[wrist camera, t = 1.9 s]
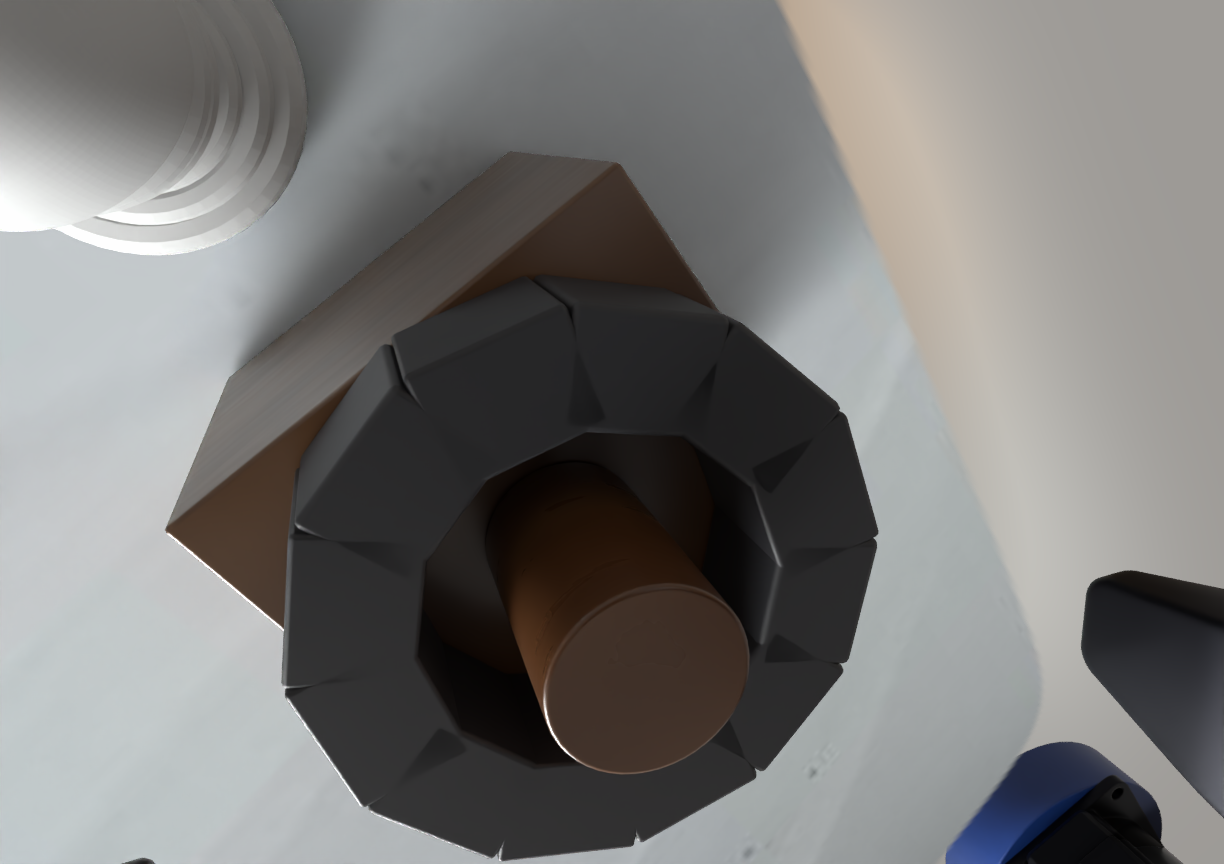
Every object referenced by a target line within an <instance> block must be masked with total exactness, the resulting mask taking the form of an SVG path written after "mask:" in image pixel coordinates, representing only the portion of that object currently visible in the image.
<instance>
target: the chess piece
mask: <svg viewBox="0 0 1224 864" xmlns="http://www.w3.org/2000/svg"><path fill="white" fill-rule="evenodd" d="M307 111H308V107H307V94H306V84H305V80H304V75H303V70H302V65H301V62H300V59H299V56H298V53H297V50H296V47H295V44H294V42H293V39H292V37H291V35H290V33H289V31H288V29H287V27H286V24H285V22H284V21H283V19H282V17H281V16H280V14H279V12H278V11H277V9H276V8H275V6H274V4H273V3H272V1H271V0H0V231H10V232H28V231H40V230H48V229H54V228H55V229H57V230H59V231H61V232H63V233H65V234H67V235H70V236H72V237H74V238H76V239H78V240H81V241H84V242H87V243H90V244H92V245H95V246H98V247H101V248H106V249H110V250H115V251H119V252H123V253H132V254H141V255H171V254H179V253H187V252H192V251H196V250H200V249H203V248H207V247H211V246H213V245H216V244H218V243H220V242H223V241H225V240H228V239H230V238H232V237H233V236H235V235H237V234H239V233H240V232H242V231H244V230H245V229H247V228H248V227H250V226H251V225H252V224H253V223H255V222H256V221H257V220H258V219H260V218H261V217H262V216H263V215H264V214H265V213H266V212H267V211H268V210H269V209H270V208H271V207H272V206H273V205H274V204H275V203H276V201H277V200H278V198H279V197H280V196H281V194H282V193H283V191H284V190H285V189H286V187H287V185H288V184H289V182H290V180H291V178H292V176H293V174H294V172H295V170H296V167H297V164H298V162H299V159H300V156H301V153H302V150H303V145H304V140H305V134H306V129H307Z"/></svg>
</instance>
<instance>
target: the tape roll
mask: <svg viewBox="0 0 1224 864" xmlns="http://www.w3.org/2000/svg"><path fill="white" fill-rule="evenodd" d="M391 340H392V345H393V346H391V345H388V344H384V345H382V346H380V347H379V349H378V350H377V351H376V353H375V354H374V356H373V357H372V358H371V360H370V361H369V362H368V364H367V365H366V367H365V368H364V369H363V371H362V372H361V374H360V375H359V376H358V378H357V379H356V381H355V382H354V383H353V385H352V386H351V388H350V389H349V390H348V392H347V393H346V395H345V396H344V397H343V399H342V400H341V402H340V403H339V404H338V406H337V407H336V409H335V410H334V411H333V413H332V414H331V416H330V417H329V418H328V420H327V421H326V423H325V424H324V425H323V427H322V428H321V430H320V431H319V432H318V434H317V435H316V436H315V438H314V439H313V441H312V442H311V443H310V445H309V446H308V448H307V449H306V450H305V452H304V453H303V455H302V456H301V461H300V468H297V469H296V471H295V476H294V486H293V495H292V504H291V514H290V523H289V532H288V547H287V569H286V592H285V615H284V637H283V660H282V685H283V687H284V688H286V689H285V698H286V699H287V701H288V702H289V704H290V705H291V707H292V708H293V709H294V711H295V712H296V714H297V715H298V717H299V718H300V720H301V721H302V722H303V724H304V725H305V727H306V728H307V730H308V731H309V733H310V734H311V735H312V737H313V738H314V740H315V741H316V743H317V744H318V746H319V747H320V748H321V750H322V751H323V753H324V754H325V756H326V757H327V759H328V760H329V761H330V763H331V764H332V766H333V767H334V769H335V770H336V772H337V773H338V775H339V776H340V777H341V779H342V780H343V782H344V783H345V785H346V786H347V788H348V789H349V790H350V792H351V793H352V795H353V796H354V798H355V799H356V801H357V802H358V803H359V805H360V806H361V807H366V806H368V808H369V811H370V812H371V813H372V814H374V815H377V816H380V817H382V818H385V819H387V820H390V821H393V822H395V823H398V824H400V825H403V826H406V827H408V828H411V829H413V830H416V831H418V832H421V833H424V834H426V835H429V836H431V837H434V838H437V839H439V840H442V841H444V842H447V843H450V844H452V845H455V846H457V847H460V848H463V849H465V850H468V851H470V852H473V853H476V854H478V855H481V856H483V857H486V858H493V857H494V856H495V855H496V854H497V856H498V859H499V860H500V861H508V860H517V859H526V858H535V857H543V856H552V855H561V854H570V853H579V852H588V851H597V850H606V849H615V848H623V847H631V846H633V845H634V840H635V837H636V839H637V840H638V841H640V842H644V841H646V840H647V839H649V838H651V837H653V836H654V835H656V834H658V833H660V832H662V831H663V830H665V829H667V828H669V827H670V826H672V825H674V824H676V823H678V822H679V821H681V820H683V819H685V818H686V817H688V816H690V815H692V814H694V813H695V812H697V811H699V810H701V809H702V808H704V807H706V806H708V805H710V804H711V803H713V802H715V801H717V800H718V799H720V798H722V797H724V796H726V795H727V794H729V793H731V792H733V791H735V790H736V789H738V788H740V787H742V786H743V785H745V784H747V783H749V782H751V781H752V780H754V779H755V778H756V771H755V768H756V769H757V770H759V771H764V770H765V769H766V768H767V767H768V766H769V765H770V763H771V762H772V761H773V760H774V758H775V757H776V756H777V755H778V753H779V752H780V751H781V750H782V748H783V747H784V746H785V745H786V743H787V742H788V741H789V740H790V738H791V737H792V736H793V735H794V733H795V732H796V731H797V730H798V728H799V727H800V726H801V725H802V723H803V722H804V721H805V720H806V718H807V717H808V716H809V715H810V713H811V712H812V711H813V710H814V708H815V707H816V706H817V705H818V703H819V702H820V701H821V700H822V698H823V697H824V696H825V695H826V693H827V692H828V691H829V690H830V688H831V687H832V686H833V685H834V683H835V682H836V681H837V680H838V678H839V677H840V676H841V675H842V673H843V668H842V666H841V665H840V664H839V663H844V662H847V660H848V659H849V656H850V652H851V648H852V644H853V640H854V636H855V632H856V628H857V624H858V620H859V616H860V612H861V608H862V604H863V600H864V596H865V593H866V589H867V585H868V581H869V577H870V573H871V569H872V565H873V561H874V557H875V553H876V549H877V542H876V540H875V539H874V538H873V537H875V536H876V535H877V534H878V528H877V524H876V521H875V517H874V513H873V510H872V506H871V503H870V499H869V495H868V492H867V488H866V485H865V481H864V477H863V474H862V470H861V467H860V463H859V459H858V456H857V452H856V449H855V445H854V441H853V438H852V434H851V431H850V427H849V423H848V420H847V417H846V415H845V414H844V413H842V412H840V411H839V409H840V407H839V406H838V404H837V402H836V401H835V400H833V399H832V398H831V397H830V396H829V395H827V394H826V393H825V392H824V391H823V390H821V389H820V388H819V387H818V386H817V385H815V384H814V383H813V382H812V381H811V380H809V379H808V378H807V377H806V376H805V375H803V374H802V373H801V372H800V371H799V370H797V369H796V368H795V367H794V366H793V365H791V364H790V363H789V362H788V361H787V360H785V359H784V358H783V357H782V356H781V355H779V354H778V353H777V352H776V351H775V350H773V349H772V348H771V347H770V346H769V345H768V344H766V343H765V342H764V341H763V340H762V339H760V338H759V337H758V336H757V335H756V334H754V333H753V332H752V331H751V330H750V329H748V328H747V327H746V326H745V325H744V324H742V323H741V322H738V321H736V320H734V319H732V318H730V317H728V316H726V315H723V314H721V313H719V312H717V311H715V310H713V309H710V308H708V307H706V306H704V305H702V304H700V303H698V302H695V301H693V300H691V299H689V298H687V297H685V296H682V295H680V294H676V293H674V292H671V291H669V290H667V289H665V288H659V287H650V286H641V285H632V284H623V283H614V282H605V281H596V280H587V279H578V278H569V277H560V276H551V275H538V276H535V278H534V280H533V281H532V280H530V279H529V278H528V277H526V276H525V277H520V278H518V279H515V280H513V281H511V282H509V283H506V284H504V285H502V286H500V287H498V288H495V289H493V290H491V291H489V292H486V293H484V294H482V295H480V296H478V297H475V298H473V299H471V300H469V301H466V302H464V303H462V304H460V305H458V306H455V307H453V308H451V309H449V310H446V311H444V312H442V313H440V314H437V315H435V316H433V317H431V318H429V319H426V320H424V321H422V322H420V323H417V324H415V325H413V326H411V327H409V328H406V329H404V330H402V331H400V332H397V333H395V334H394V335H393V336H392V337H391ZM585 432H596V433H615V434H635V435H654V436H673V437H681V438H682V439H684V440H685V441H687V442H688V443H689V444H691V445H692V446H694V448H695V451H696V454H697V456H698V459H699V462H700V465H701V467H702V470H703V473H704V476H705V478H706V481H707V484H708V486H709V489H710V492H711V495H712V497H713V500H714V503H715V508H714V513H713V518H712V523H711V529H710V534H709V539H708V544H707V549H706V554H705V560H704V565H703V570H702V574H703V575H704V576H705V577H706V579H707V580H708V581H709V582H710V583H711V585H712V586H713V587H714V588H715V589H716V590H717V592H718V593H719V594H720V595H721V596H722V598H723V599H724V600H725V601H726V602H727V604H728V605H729V606H730V607H731V608H732V610H733V611H734V612H735V614H736V615H737V617H738V618H739V619H740V621H741V624H742V626H743V628H744V630H745V633H746V637H747V640H748V647H749V672H748V679H747V682H746V686H745V689H744V692H743V694H742V697H741V699H740V701H739V703H738V705H737V707H736V709H735V711H734V712H733V714H732V715H731V717H730V718H729V720H728V721H727V722H726V724H725V725H724V726H723V727H722V728H721V730H720V731H719V732H718V733H717V734H716V735H715V736H714V737H713V738H712V739H711V740H710V741H708V742H707V743H706V744H705V745H704V746H702V747H701V748H700V749H698V750H697V751H696V752H694V753H692V754H691V755H689V756H688V757H686V758H684V759H682V760H680V761H678V762H676V763H674V764H672V765H669V766H666V767H664V768H661V769H657V770H653V771H649V772H644V773H637V774H614V773H607V772H602V771H598V770H595V769H593V768H590V767H587V766H585V765H583V764H582V763H580V762H578V761H576V760H575V759H573V758H572V757H571V756H570V755H568V754H567V753H566V752H565V751H564V750H563V749H562V748H561V747H560V746H559V745H558V744H557V743H556V741H555V739H554V738H553V736H552V735H551V733H550V731H549V729H548V726H547V724H546V721H545V719H544V716H543V713H542V710H541V708H540V705H539V702H538V699H537V697H536V694H535V691H534V688H533V686H532V683H531V680H530V677H529V675H528V673H520V674H505V673H503V672H501V671H499V670H497V669H495V668H493V667H491V666H489V665H487V664H485V663H483V662H481V661H479V660H477V659H475V658H473V657H471V656H469V655H467V654H465V653H463V652H461V651H459V650H457V649H455V648H453V647H451V646H449V645H447V644H445V643H443V642H442V640H441V639H440V637H439V635H438V633H437V632H436V630H435V628H434V626H433V625H432V623H431V621H430V619H429V617H428V616H427V614H426V612H425V610H424V609H423V600H424V590H425V579H426V568H427V561H428V559H429V558H430V557H431V555H432V554H433V553H434V551H435V550H436V548H437V547H438V546H439V544H440V543H441V542H442V540H443V539H444V538H445V536H446V535H447V534H448V532H449V531H450V530H451V528H452V527H453V526H454V524H455V523H456V521H457V520H458V519H459V517H460V516H461V515H462V513H463V512H464V511H465V509H466V508H467V507H468V505H469V504H470V503H471V501H472V500H473V499H474V497H475V496H476V494H477V493H478V492H479V490H480V489H481V488H482V486H483V485H484V484H485V482H486V481H487V480H488V479H490V478H492V477H494V476H496V475H498V474H500V473H502V472H504V471H506V470H508V469H510V468H513V467H515V466H517V465H519V464H521V463H523V462H525V461H527V460H529V459H531V458H533V457H535V456H537V455H539V454H542V453H544V452H546V451H548V450H550V449H552V448H554V447H556V446H558V445H560V444H562V443H564V442H566V441H568V440H571V439H573V438H575V437H577V436H579V435H581V434H583V433H585Z"/></svg>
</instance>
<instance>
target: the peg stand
mask: <svg viewBox="0 0 1224 864" xmlns="http://www.w3.org/2000/svg"><path fill="white" fill-rule="evenodd" d="M538 275H551V276H560V277H569V278H578V279H587V280H596V281H605V282H614V283H623V284H632V285H641V286H650V287H659V288H665V289H667V290H669V291H671V292H674V293H676V294H680V295H682V296H685V297H687V298H689V299H691V300H693V301H695V302H698V303H700V304H702V305H704V306H706V307H708V308H710V309H713V310H715V311H717V312H719V311H718V309H717V308H716V306H715V305H714V303H713V302H712V300H711V299H710V297H709V296H708V294H707V293H706V291H705V290H704V288H703V287H702V285H701V284H700V282H699V281H698V279H697V278H696V276H695V275H694V273H693V272H692V270H691V269H690V267H689V266H688V264H687V263H686V261H685V260H684V258H683V257H682V255H681V254H680V252H679V251H678V249H677V248H676V246H675V245H674V243H673V242H672V240H671V239H670V237H669V236H668V234H667V233H666V231H665V230H664V228H663V227H662V225H661V224H660V222H659V221H658V220H657V218H656V217H655V215H654V214H653V212H652V211H651V209H650V208H649V206H648V205H647V203H646V202H645V200H644V199H643V197H642V196H641V194H640V193H639V191H638V190H637V188H636V187H635V185H634V184H633V182H632V181H631V179H630V178H629V176H628V175H627V173H626V172H625V170H624V169H623V167H622V166H621V165H620V164H619V163H617V162H609V161H600V160H590V159H581V158H571V157H561V156H552V155H542V154H532V153H523V152H513V151H510V152H508V153H506V154H505V155H504V156H503V157H501V158H500V159H499V160H498V161H497V162H495V163H494V164H493V165H492V166H490V167H489V168H488V169H487V170H485V171H484V172H483V173H482V174H480V175H479V176H478V177H477V178H475V179H474V180H473V181H472V182H471V183H469V184H468V185H467V186H466V187H464V188H463V189H462V190H461V191H459V192H458V193H457V194H456V195H454V196H453V197H452V198H451V199H450V200H448V201H447V202H446V203H445V204H443V205H442V206H441V207H440V208H438V209H437V210H436V211H435V212H433V213H432V214H431V215H430V216H429V217H427V218H426V219H425V220H424V221H422V222H421V223H420V224H419V225H417V226H416V227H415V228H414V229H412V230H411V231H410V232H409V233H407V234H406V235H405V236H404V237H403V238H401V239H400V240H399V241H398V242H396V243H395V244H394V245H393V246H391V247H390V248H389V249H388V250H386V251H385V252H384V253H383V254H382V255H380V256H379V257H378V258H377V259H375V260H374V261H373V262H372V263H370V264H369V265H368V266H367V267H365V268H364V269H363V270H362V271H360V272H359V273H358V274H357V275H356V276H354V277H353V278H352V279H351V280H349V281H348V282H347V283H346V284H344V285H343V286H342V287H341V288H339V289H338V290H337V291H336V292H335V293H333V294H332V295H331V296H330V297H328V298H327V299H326V300H325V301H323V302H322V303H321V304H320V305H318V306H317V307H316V308H315V309H314V310H312V311H311V312H310V313H309V314H307V315H306V316H305V317H304V318H302V319H301V320H300V321H299V322H297V323H296V324H295V325H294V326H292V327H291V328H290V329H289V330H288V331H286V332H285V333H284V334H283V335H281V336H280V337H279V338H278V339H276V340H275V341H274V342H273V343H271V344H270V345H269V346H268V347H267V348H265V349H264V350H263V351H262V352H260V353H259V354H258V355H257V356H255V357H254V358H253V359H252V360H250V361H249V362H248V363H247V364H246V365H244V366H243V367H242V368H241V369H239V370H238V371H237V372H236V373H234V374H233V375H232V376H231V377H229V379H228V381H227V383H226V385H225V388H224V390H223V393H222V395H221V397H220V400H219V402H218V405H217V407H216V409H215V412H214V414H213V417H212V419H211V421H210V424H209V426H208V428H207V431H206V433H205V436H204V438H203V440H202V443H201V445H200V448H199V450H198V452H197V455H196V457H195V460H194V462H193V464H192V467H191V469H190V472H189V474H188V476H187V479H186V481H185V483H184V486H183V488H182V491H181V493H180V495H179V498H178V500H177V503H176V505H175V507H174V510H173V512H172V515H171V517H170V519H169V522H168V524H167V527H166V529H165V531H166V533H167V534H168V535H169V536H170V537H171V538H173V539H174V540H175V541H176V542H177V543H179V544H180V545H181V546H182V547H183V548H185V549H186V550H187V551H188V552H189V553H191V554H192V555H193V556H194V557H195V558H197V559H198V560H199V561H200V562H201V563H203V564H204V565H205V566H206V567H207V568H209V569H210V570H211V571H212V572H213V573H215V574H216V575H217V576H218V577H219V578H221V579H222V580H223V581H224V582H225V583H227V584H228V585H229V586H230V587H231V588H233V589H234V590H235V591H236V592H237V593H238V594H240V595H241V596H242V597H243V598H244V599H246V600H247V601H248V602H249V603H250V604H252V605H253V606H254V607H255V608H256V609H258V610H259V611H260V612H261V613H262V614H264V615H265V616H266V617H267V618H268V619H270V620H271V621H272V622H273V623H274V624H276V625H277V626H278V627H279V628H280V629H282V630H283V631H284V615H285V592H286V569H287V547H288V532H289V523H290V514H291V504H292V495H293V486H294V476H295V471H296V469H297V468H300V461H301V456H302V455H303V453H304V452H305V450H306V449H307V448H308V446H309V445H310V443H311V442H312V441H313V439H314V438H315V436H316V435H317V434H318V432H319V431H320V430H321V428H322V427H323V425H324V424H325V423H326V421H327V420H328V418H329V417H330V416H331V414H332V413H333V411H334V410H335V409H336V407H337V406H338V404H339V403H340V402H341V400H342V399H343V397H344V396H345V395H346V393H347V392H348V390H349V389H350V388H351V386H352V385H353V383H354V382H355V381H356V379H357V378H358V376H359V375H360V374H361V372H362V371H363V369H364V368H365V367H366V365H367V364H368V362H369V361H370V360H371V358H372V357H373V356H374V354H375V353H376V351H377V350H378V349H379V347H380V346H382V345H384V344H388V345H391V346H393V345H392V340H391V337H392V336H393V335H394V334H395V333H397V332H400V331H402V330H404V329H406V328H409V327H411V326H413V325H415V324H417V323H420V322H422V321H424V320H426V319H429V318H431V317H433V316H435V315H437V314H440V313H442V312H444V311H446V310H449V309H451V308H453V307H455V306H458V305H460V304H462V303H464V302H466V301H469V300H471V299H473V298H475V297H478V296H480V295H482V294H484V293H486V292H489V291H491V290H493V289H495V288H498V287H500V286H502V285H504V284H506V283H509V282H511V281H513V280H515V279H518V278H520V277H525V276H526V277H528V278H529V279H530V280H532V281H533V280H534V278H535V276H538ZM719 313H720V312H719ZM714 508H715V503H714V500H713V497H712V495H711V492H710V489H709V486H708V484H707V481H706V478H705V476H704V473H703V470H702V467H701V465H700V462H699V459H698V456H697V454H696V451H695V448H694V446H692V445H691V444H689V443H688V442H687V441H685V440H684V439H682V438H681V437H673V436H654V435H635V434H615V433H596V432H585V433H583V434H581V435H579V436H577V437H575V438H573V439H571V440H568V441H566V442H564V443H562V444H560V445H558V446H556V447H554V448H552V449H550V450H548V451H546V452H544V453H542V454H539V455H537V456H535V457H533V458H531V459H529V460H527V461H525V462H523V463H521V464H519V465H517V466H515V467H513V468H510V469H508V470H506V471H504V472H502V473H500V474H498V475H496V476H494V477H492V478H490V479H488V480H487V481H486V482H485V484H484V485H483V486H482V488H481V489H480V490H479V492H478V493H477V494H476V496H475V497H474V499H473V500H472V501H471V503H470V504H469V505H468V507H467V508H466V509H465V511H464V512H463V513H462V515H461V516H460V517H459V519H458V520H457V521H456V523H455V524H454V526H453V527H452V528H451V530H450V531H449V532H448V534H447V535H446V536H445V538H444V539H443V540H442V542H441V543H440V544H439V546H438V547H437V548H436V550H435V551H434V553H433V554H432V555H431V557H430V558H429V559H428V561H427V568H426V579H425V590H424V600H423V609H424V610H425V612H426V614H427V616H428V617H429V619H430V621H431V623H432V625H433V626H434V628H435V630H436V632H437V633H438V635H439V637H440V639H441V640H442V642H443V643H445V644H447V645H449V646H451V647H453V648H455V649H457V650H459V651H461V652H463V653H465V654H467V655H469V656H471V657H473V658H475V659H477V660H479V661H481V662H483V663H485V664H487V665H489V666H491V667H493V668H495V669H497V670H499V671H501V672H503V673H505V674H520V673H528V675H529V677H530V680H531V683H532V686H533V688H534V691H535V694H536V697H537V699H538V702H539V705H540V708H541V710H542V713H543V716H544V719H545V721H546V724H547V726H548V729H549V731H550V733H551V735H552V736H553V738H554V739H555V741H556V743H557V744H558V745H559V746H560V747H561V748H562V749H563V750H564V751H565V752H566V753H567V754H568V755H570V756H571V757H572V758H573V759H575V760H576V761H578V762H580V763H582V764H583V765H585V766H587V767H590V768H593V769H595V770H598V771H602V772H607V773H614V774H637V773H644V772H649V771H653V770H657V769H661V768H664V767H666V766H669V765H672V764H674V763H676V762H678V761H680V760H682V759H684V758H686V757H688V756H689V755H691V754H692V753H694V752H696V751H697V750H698V749H700V748H701V747H702V746H704V745H705V744H706V743H707V742H708V741H710V740H711V739H712V738H713V737H714V736H715V735H716V734H717V733H718V732H719V731H720V730H721V728H722V727H723V726H724V725H725V724H726V722H727V721H728V720H729V718H730V717H731V715H732V714H733V712H734V711H735V709H736V707H737V705H738V703H739V701H740V699H741V697H742V694H743V692H744V689H745V686H746V682H747V679H748V672H749V647H748V640H747V637H746V633H745V630H744V628H743V626H742V624H741V621H740V619H739V618H738V617H737V615H736V614H735V612H734V611H733V610H732V608H731V607H730V606H729V605H728V604H727V602H726V601H725V600H724V599H723V598H722V596H721V595H720V594H719V593H718V592H717V590H716V589H715V588H714V587H713V586H712V585H711V583H710V582H709V581H708V580H707V579H706V577H705V576H704V575H703V574H702V570H703V565H704V560H705V554H706V549H707V544H708V539H709V534H710V529H711V523H712V518H713V513H714Z"/></svg>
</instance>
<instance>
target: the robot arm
mask: <svg viewBox="0 0 1224 864" xmlns="http://www.w3.org/2000/svg"><path fill="white" fill-rule="evenodd" d="M1081 650H1082V655H1083V658H1084V660H1085V663H1086V664H1087V666H1088V668H1089V669H1090V671H1091V672H1092V673H1093V674H1094V676H1095V677H1096V678H1097V679H1098V680H1099V681H1100V682H1101V684H1102V685H1103V686H1104V687H1105V688H1106V689H1107V690H1108V692H1109V693H1110V694H1111V695H1112V696H1113V697H1114V698H1115V700H1116V701H1117V702H1118V703H1119V704H1120V705H1121V706H1122V707H1123V709H1124V710H1125V711H1126V712H1127V713H1128V714H1129V716H1130V717H1131V718H1132V719H1133V720H1134V721H1135V722H1136V723H1137V725H1138V726H1139V727H1140V728H1141V729H1142V730H1143V731H1144V733H1145V734H1146V735H1147V736H1148V737H1149V738H1150V739H1151V741H1152V742H1153V743H1154V744H1155V745H1156V746H1157V747H1158V748H1159V750H1160V751H1161V752H1162V753H1163V754H1164V755H1165V756H1166V758H1167V759H1168V760H1169V761H1170V762H1171V763H1172V764H1173V766H1174V767H1175V768H1176V769H1177V770H1178V771H1179V772H1180V773H1181V774H1182V776H1183V777H1184V778H1185V779H1186V780H1187V781H1188V782H1189V783H1190V784H1191V785H1192V786H1193V788H1194V789H1195V790H1196V791H1197V792H1198V793H1199V794H1200V795H1201V796H1202V797H1203V798H1204V799H1205V800H1206V801H1207V802H1208V803H1209V804H1210V805H1211V806H1212V807H1213V808H1214V809H1215V810H1216V811H1217V812H1218V813H1219V814H1220V815H1221V816H1222V817H1223V818H1224V589H1221V588H1216V587H1211V586H1206V585H1202V584H1197V583H1192V582H1187V581H1182V580H1177V579H1173V578H1168V577H1163V576H1158V575H1153V574H1148V573H1143V572H1138V571H1131V570H1130V571H1122V572H1118V573H1114V574H1111V575H1108V576H1104V577H1101V578H1098V579H1096V580H1094V581H1093V582H1092V583H1091V584H1090V586H1089V588H1088V590H1087V593H1086V602H1085V612H1084V621H1083V630H1082V640H1081ZM122 864H155V863H154V862H153V861H152V860H150V859H147V858H140V859H136V860H133V861H129V862H126V863H122ZM1005 864H1183V863H1182V862H1181V861H1179V860H1178V859H1177V858H1176V857H1175V856H1174V855H1173V854H1171V853H1170V852H1169V851H1168V850H1167V849H1166V848H1165V847H1164V846H1163V844H1162V842H1161V841H1160V839H1159V837H1158V835H1157V834H1156V832H1155V830H1154V829H1153V827H1152V825H1151V824H1150V822H1149V820H1148V818H1147V817H1146V815H1145V813H1144V812H1143V810H1142V808H1141V806H1140V805H1139V803H1138V801H1137V800H1136V798H1135V796H1134V794H1133V793H1132V791H1131V789H1130V788H1129V786H1128V784H1126V783H1125V782H1124V781H1123V780H1122V779H1120V778H1119V777H1118V776H1117V775H1110V776H1107V777H1106V778H1104V779H1103V780H1102V781H1101V782H1100V783H1098V784H1097V785H1096V786H1095V787H1094V788H1093V789H1092V790H1090V791H1089V792H1088V793H1087V794H1086V795H1085V796H1083V797H1082V798H1081V799H1080V800H1079V801H1078V802H1076V803H1075V804H1074V805H1073V806H1072V807H1071V808H1069V809H1068V810H1067V811H1066V812H1065V813H1064V814H1062V815H1061V816H1060V817H1059V818H1058V819H1057V820H1055V821H1054V822H1053V823H1052V824H1051V825H1050V826H1048V827H1047V828H1046V829H1045V830H1044V831H1043V832H1041V833H1040V834H1039V835H1038V836H1037V837H1036V838H1035V839H1033V840H1032V841H1031V842H1030V843H1029V844H1028V845H1026V846H1025V847H1024V848H1023V849H1022V850H1021V851H1019V852H1018V853H1017V854H1016V855H1015V856H1014V857H1012V858H1011V859H1010V860H1009V861H1008V862H1007V863H1005Z"/></svg>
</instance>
